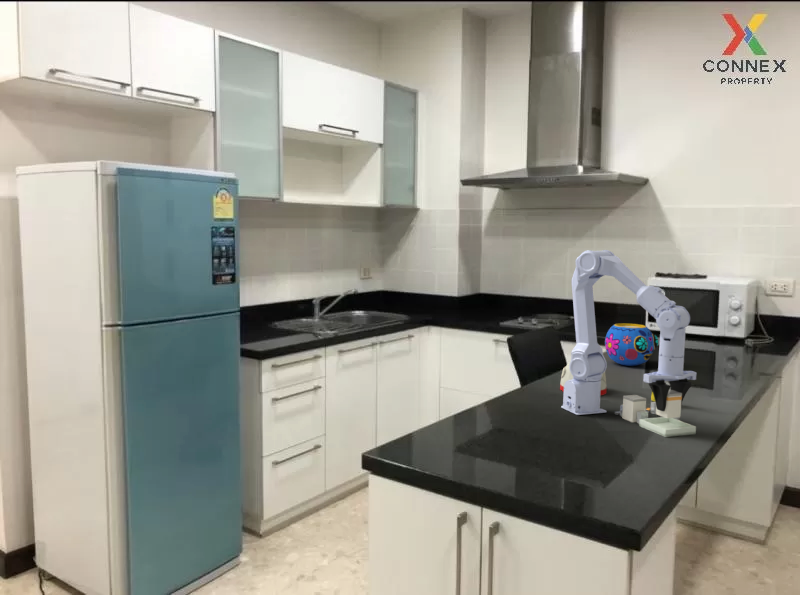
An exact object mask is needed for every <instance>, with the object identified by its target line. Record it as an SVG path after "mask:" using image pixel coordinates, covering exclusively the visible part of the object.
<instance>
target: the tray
mask: <svg viewBox="0 0 800 595" xmlns="http://www.w3.org/2000/svg"><path fill="white" fill-rule="evenodd" d="M638 425H639V427H641V428H643V429H645V430H648V431H650V432H653V433H654V434H657V435H659V436H662V437H664V438H668V437H677V436H689V435H696V433H697V432H696V431H697V426H696V425H693V424H690V423H687V422H685V421H682V420H680V419H679V420H677V419H674V418H665V417H662V416H660V417H648V418H647V419H640V423H638Z"/></svg>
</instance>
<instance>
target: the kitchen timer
mask: <svg viewBox="0 0 800 595" xmlns="http://www.w3.org/2000/svg"><path fill="white" fill-rule="evenodd" d="M570 361H571V359H570V360H569V361H568V363H567V364H566V366H564V367H563V369H562V371H561V378H560V383H559V384H560V387H559V390H560V391H561V390H562V391H561V392H563V393H564V384H565V382H566V381H568V380H571V379H573V375H572V374H571V372H570V369H569V364H570ZM606 377H607V376H606V371H605V372H604V373H603V374H602V378H601V392H600V396H604V395H606V394H607V389H608V388H607V378H606Z"/></svg>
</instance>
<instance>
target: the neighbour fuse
mask: <svg viewBox="0 0 800 595" xmlns="http://www.w3.org/2000/svg"><path fill="white" fill-rule="evenodd" d="M622 405H623V414H622V416H621V417H622V419H624V420H625V421H628V422H630V423H636V421H637V411H646V409H647V398H646V397H645V396H644V397H643V396H641V395H638V394H632V395H631V394H630V395H623V396H622Z"/></svg>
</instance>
